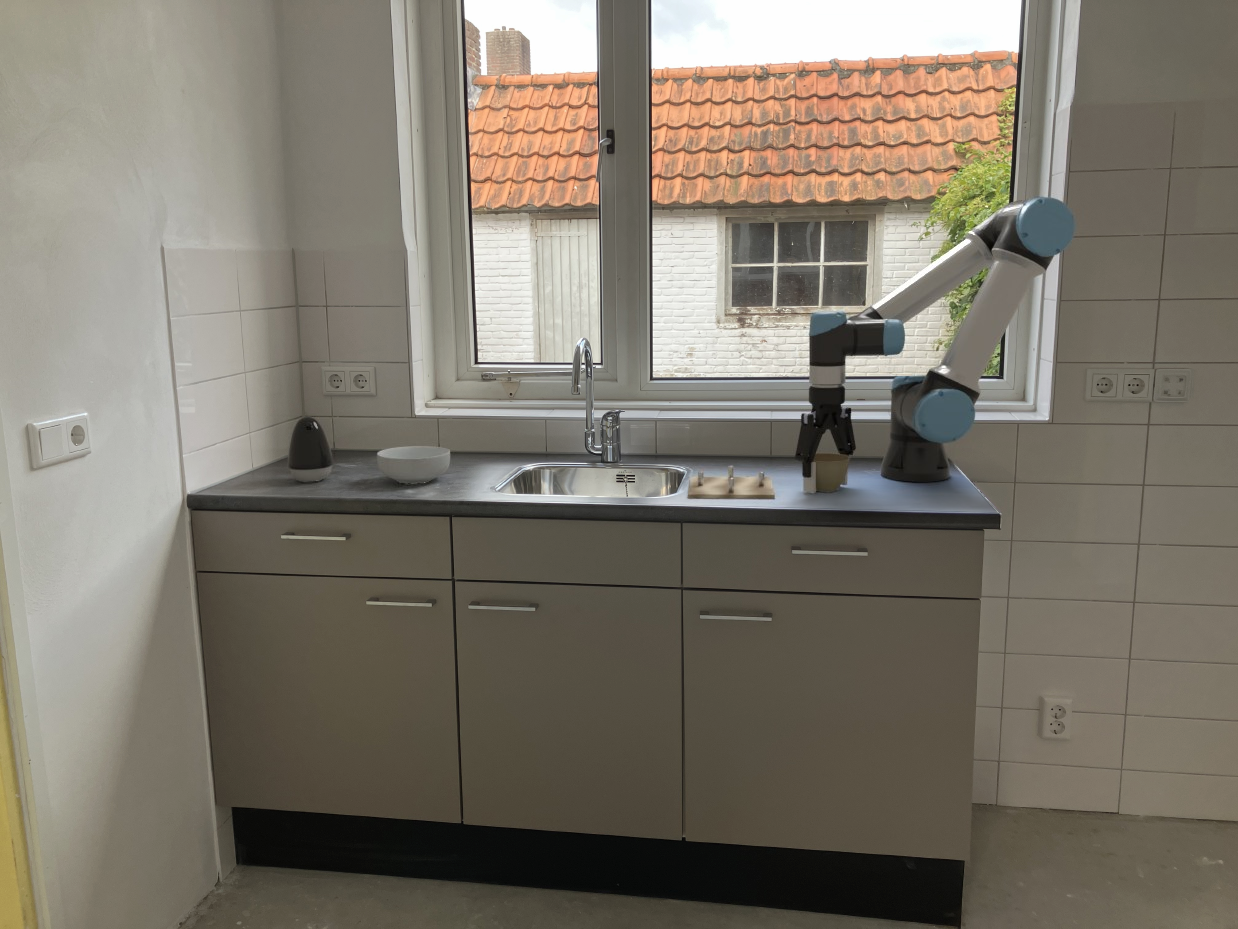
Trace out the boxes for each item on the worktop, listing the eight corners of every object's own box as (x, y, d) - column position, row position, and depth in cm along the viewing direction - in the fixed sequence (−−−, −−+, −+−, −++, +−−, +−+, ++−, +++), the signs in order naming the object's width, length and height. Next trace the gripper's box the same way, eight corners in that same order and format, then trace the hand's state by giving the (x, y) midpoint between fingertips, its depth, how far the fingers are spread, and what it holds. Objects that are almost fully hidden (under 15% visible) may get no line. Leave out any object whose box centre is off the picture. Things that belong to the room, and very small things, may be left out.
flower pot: (812, 496, 211) (813, 462, 209) (795, 486, 220) (795, 454, 219) (857, 492, 213) (858, 459, 211) (838, 483, 222) (838, 451, 221)
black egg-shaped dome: (291, 486, 230) (285, 420, 227) (287, 478, 239) (282, 415, 236) (336, 482, 233) (332, 417, 231) (331, 474, 243) (327, 412, 240)
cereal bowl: (435, 490, 224) (433, 458, 223) (366, 488, 227) (364, 457, 226) (462, 474, 240) (460, 445, 239) (397, 473, 244) (395, 444, 242)
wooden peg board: (770, 480, 227) (770, 464, 227) (774, 498, 210) (774, 480, 209) (691, 480, 229) (690, 463, 229) (688, 498, 212) (688, 480, 211)
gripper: (846, 379, 222) (844, 477, 226) (777, 388, 208) (777, 493, 212) (874, 381, 216) (872, 482, 221) (805, 391, 202) (804, 499, 207)
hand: (825, 488), depth 216 cm, fingers closed on flower pot, 10 cm apart
